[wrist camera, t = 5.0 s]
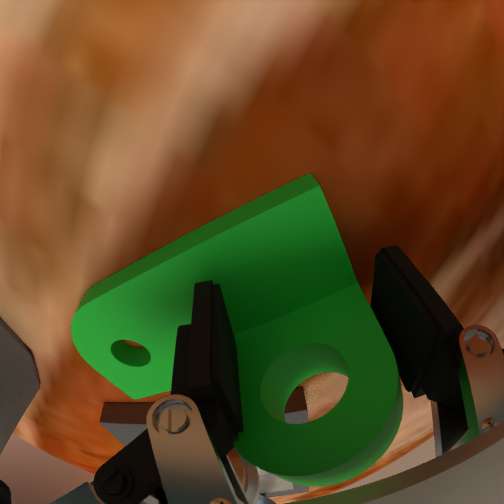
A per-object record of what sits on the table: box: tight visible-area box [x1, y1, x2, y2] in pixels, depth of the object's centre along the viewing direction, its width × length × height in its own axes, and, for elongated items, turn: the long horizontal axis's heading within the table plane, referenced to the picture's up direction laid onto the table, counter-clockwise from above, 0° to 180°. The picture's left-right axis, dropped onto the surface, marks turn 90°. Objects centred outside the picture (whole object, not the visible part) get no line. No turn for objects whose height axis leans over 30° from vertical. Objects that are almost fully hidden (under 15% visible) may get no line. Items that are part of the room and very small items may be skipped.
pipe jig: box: [100, 387, 309, 504], centre depth 18 cm, size 21×12×8 cm, turn 9°
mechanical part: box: [71, 173, 403, 486], centre depth 9 cm, size 12×6×8 cm, turn 117°
